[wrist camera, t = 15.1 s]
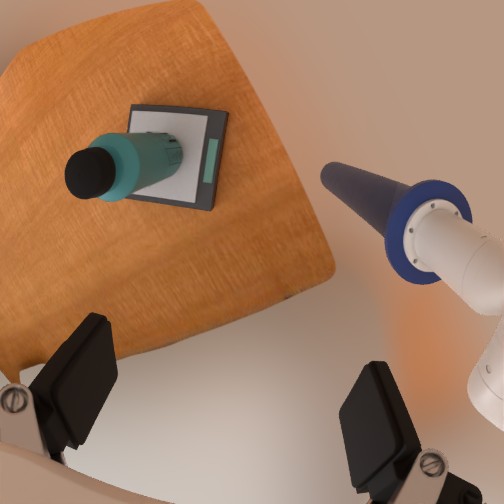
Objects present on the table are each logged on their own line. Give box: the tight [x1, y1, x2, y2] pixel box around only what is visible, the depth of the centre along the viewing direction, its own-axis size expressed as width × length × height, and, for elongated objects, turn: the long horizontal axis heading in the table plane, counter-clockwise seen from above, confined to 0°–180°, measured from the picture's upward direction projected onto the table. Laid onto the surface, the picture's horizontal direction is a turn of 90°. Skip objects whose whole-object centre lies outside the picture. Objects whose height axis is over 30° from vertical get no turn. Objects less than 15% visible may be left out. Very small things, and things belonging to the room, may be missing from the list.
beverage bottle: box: [65, 131, 183, 202], centre depth 28 cm, size 6×7×20 cm
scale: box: [125, 104, 229, 211], centre depth 38 cm, size 14×14×3 cm
